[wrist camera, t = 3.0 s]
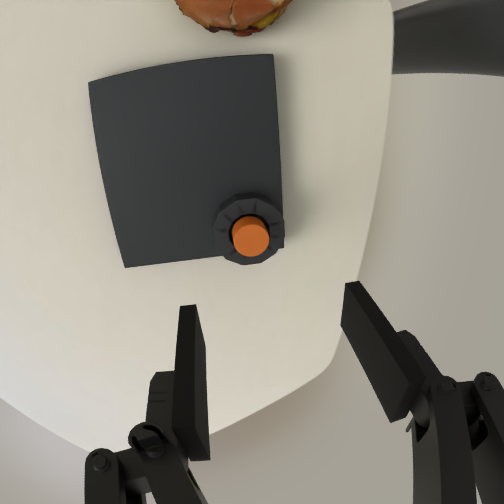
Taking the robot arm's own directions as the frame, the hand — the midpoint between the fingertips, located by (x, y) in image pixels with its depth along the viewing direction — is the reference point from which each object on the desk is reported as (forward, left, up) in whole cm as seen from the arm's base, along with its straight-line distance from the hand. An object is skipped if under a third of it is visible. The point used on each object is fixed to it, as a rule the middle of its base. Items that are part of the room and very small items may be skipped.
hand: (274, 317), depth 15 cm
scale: (+4, -6, -13) cm, 15 cm away
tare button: (0, 0, -10) cm, 10 cm away
